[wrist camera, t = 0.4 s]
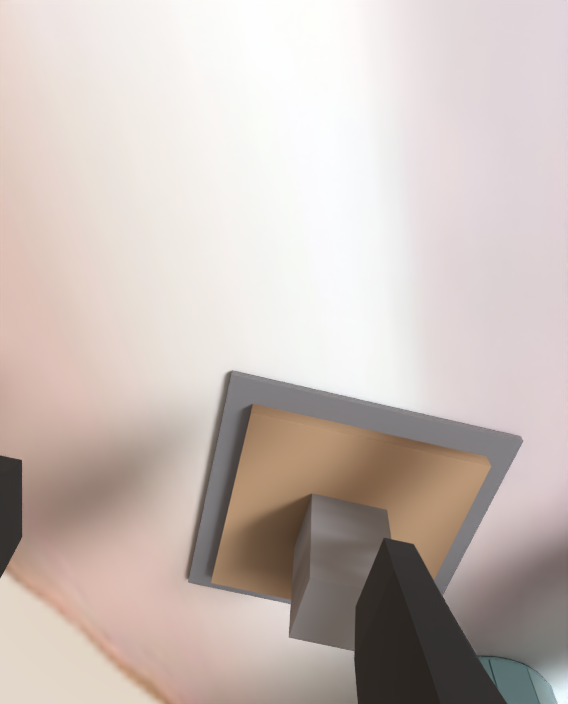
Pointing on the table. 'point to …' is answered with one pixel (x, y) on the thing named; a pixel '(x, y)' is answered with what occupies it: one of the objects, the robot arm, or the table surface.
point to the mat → (347, 412)
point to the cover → (335, 513)
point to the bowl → (518, 682)
